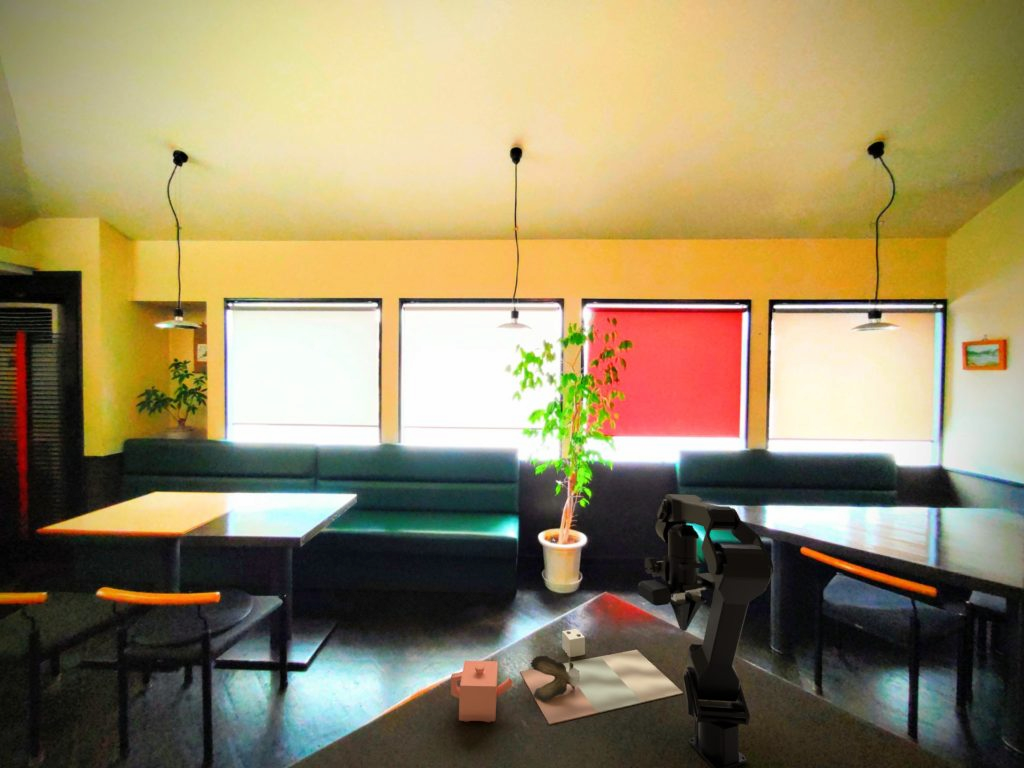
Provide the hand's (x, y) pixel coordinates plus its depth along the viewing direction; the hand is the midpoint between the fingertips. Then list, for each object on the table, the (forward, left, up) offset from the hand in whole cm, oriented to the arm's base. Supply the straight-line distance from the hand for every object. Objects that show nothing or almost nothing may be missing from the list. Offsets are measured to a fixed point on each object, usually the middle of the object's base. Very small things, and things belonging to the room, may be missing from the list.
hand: (683, 629), depth 87 cm
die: (+19, +16, -12) cm, 28 cm away
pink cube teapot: (+6, +42, -12) cm, 44 cm away
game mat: (+7, +16, -12) cm, 21 cm away
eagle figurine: (+7, +26, -12) cm, 30 cm away
